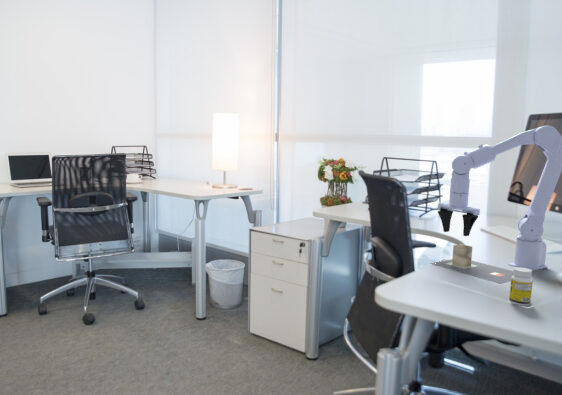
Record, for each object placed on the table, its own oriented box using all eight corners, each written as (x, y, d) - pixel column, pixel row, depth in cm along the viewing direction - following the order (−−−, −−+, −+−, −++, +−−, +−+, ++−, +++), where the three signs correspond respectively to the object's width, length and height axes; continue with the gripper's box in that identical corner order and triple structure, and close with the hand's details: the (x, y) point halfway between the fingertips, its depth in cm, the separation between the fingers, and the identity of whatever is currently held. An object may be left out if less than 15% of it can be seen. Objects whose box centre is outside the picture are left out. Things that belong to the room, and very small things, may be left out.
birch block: (459, 262, 156) (461, 244, 155) (470, 265, 153) (472, 246, 152) (452, 264, 154) (453, 245, 153) (463, 267, 151) (464, 248, 150)
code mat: (460, 258, 163) (460, 257, 163) (531, 276, 143) (531, 275, 143) (429, 264, 154) (429, 263, 154) (500, 284, 134) (500, 283, 134)
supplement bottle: (512, 298, 123) (515, 265, 122) (532, 302, 120) (536, 269, 119) (506, 302, 119) (509, 269, 118) (527, 307, 116) (531, 273, 115)
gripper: (433, 190, 163) (430, 230, 165) (471, 195, 152) (468, 238, 153) (446, 190, 167) (443, 229, 169) (484, 195, 156) (481, 236, 157)
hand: (456, 233), depth 162 cm, fingers open, 7 cm apart
